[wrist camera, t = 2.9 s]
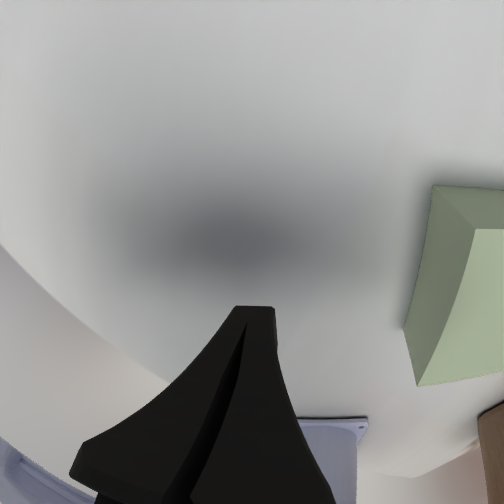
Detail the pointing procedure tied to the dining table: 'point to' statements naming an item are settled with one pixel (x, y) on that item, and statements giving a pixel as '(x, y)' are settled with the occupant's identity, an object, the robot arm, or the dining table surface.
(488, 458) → the block
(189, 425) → the robot arm
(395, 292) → the dining table surface
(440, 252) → the sage block
